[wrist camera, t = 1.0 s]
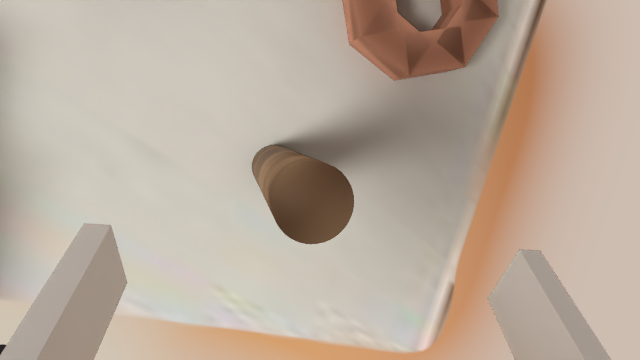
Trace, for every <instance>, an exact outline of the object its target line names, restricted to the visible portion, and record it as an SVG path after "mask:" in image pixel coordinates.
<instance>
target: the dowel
mask: <svg viewBox="0 0 640 360" xmlns="http://www.w3.org/2000/svg"><path fill="white" fill-rule="evenodd" d="M252 171H253V174H254V177H255V179H256V181H257V183H258V185H259V187H260V189H261V191H262V193H263V195H264V198H265V200H266V202H267V204H268V206H269V208H270V210H271V212H272V214H273V216H274V218H275V221H276V223H277V224H278V226H279V228H280V229H281V230H282V231H283V232H284V233H285V234H286V235H287V236H288V237H290V238H291V239H293V240H295V241H298V242H300V243H305V244H317V243H322V242H325V241H328V240H330V239H332V238H334V237H335V236H337V235H338V234H339V233H340V232H341V231H342V230H343V229H344V228H345V226H346V225H347V223H348V222H349V220H350V218H351V215H352V212H353V207H354V196H353V191H352V188H351V185H350V183H349V181H348V180H347V178H346V177H345V176H344V174H343V173H342V172H340V171H339V170H338V169H337V168H335V167H333V166H331V165H329V164H326V163H324V162H321V161H318V160H316V159H313V158H310V157H308V156H305V155H303V154H300V153H297V152H295V151H292V150H289V149H287V148H284V147H282V146H278V145H269V146H266V147H264V148H262V149H261V150H259V151H258V152H257V154H256V155H255V157H254V159H253V162H252Z"/></svg>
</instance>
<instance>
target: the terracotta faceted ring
mask: <svg viewBox="0 0 640 360" xmlns="http://www.w3.org/2000/svg"><path fill="white" fill-rule="evenodd" d="M343 6H344V13H345V19H346V26H347V32H348V39H349V44H350V45H351V46H352V47H353V48H355V49H356V50H357V51H358V52H360V53H361V54H362V55H363V56H365V57H366V58H367V59H368V60H369V61H371V62H372V63H373V64H374V65H376V66H377V67H378V68H379V69H381V70H382V71H383V72H384V73H386V74H387V75H388V76H389V77H390V78H392V79H393V80H399V79H405V78H411V77H417V76H423V75H429V74H435V73H441V72H447V71H451V70H455V69H458V68H462V67H465V66H466V65H467V63H468V62H469V60H470V59H471V57H472V56H473V54H474V53H475V51H476V50H477V48H478V47H479V45H480V44H481V42H482V41H483V39H484V38H485V36H486V35H487V33H488V32H489V30H490V29H491V27H492V26H493V24H494V23H495V21H496V20H497V18H498V17H499V16H498V6H497V0H441V9H442V16H441V17H440V19H439V20H438V22H437V23H436V25H435V26H434V28H433V29H432V30H430V31H423V32H419V31H418V30H417V29H416V28H415V27H413V26H412V25H411V24H410V23H409V22H408V21H407V20H405V19H404V18H403V17H402V16H401V15H400V14H399V13H397V5H396V0H343Z"/></svg>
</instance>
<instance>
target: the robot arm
mask: <svg viewBox="0 0 640 360" xmlns="http://www.w3.org/2000/svg"><path fill="white" fill-rule="evenodd" d="M126 284H127V280H126V276H125V273H124V269H123V266H122V262H121V259H120V255H119V252H118V248H117V244H116V241H115V237H114V234H113V230H112V227H111V225H102V224H86V223H84V224H83V226H82V227H81V229H80V231H79V232H78V234H77V235H76V237H75V238H74V240H73V242H72V243H71V245H70V246H69V248H68V249H67V251H66V253H65V254H64V256H63V257H62V259H61V260H60V262H59V264H58V265H57V267H56V268H55V270H54V271H53V273H52V275H51V276H50V278H49V279H48V281H47V282H46V284H45V286H44V287H43V289H42V290H41V292H40V293H39V295H38V297H37V298H36V300H35V301H34V303H33V304H32V306H31V308H30V309H29V311H28V312H27V314H26V316H25V317H24V319H23V320H22V322H21V323H20V325H19V326H18V328H17V330H16V331H15V333H14V334H13V336H12V338H11V339H10V341H9V342H8V344H7V345H0V360H94V358H95V355H96V353H97V351H98V349H99V346H100V344H101V341H102V339H103V337H104V335H105V332H106V330H107V328H108V325H109V323H110V321H111V319H112V316H113V314H114V312H115V310H116V307H117V305H118V303H119V300H120V298H121V296H122V293H123V291H124V289H125V286H126ZM488 301H489V303H490V305H491V307H492V310H493V311H494V314H495V316H496V318H497V321H498V323H499V325H500V327H501V329H502V332H503V334H504V336H505V339H506V341H507V343H508V345H509V347H510V350H511V352H512V354H513V356H514V359H515V360H611V359H610V357H609V355H608V354H607V352H606V351H605V349H604V348H603V346H602V345H601V343H600V342H599V340H598V338H597V337H596V336H595V334H594V332H593V331H592V329H591V328H590V326H589V325H588V324H587V322H586V320H585V319H584V317H583V316H582V314H581V312H580V311H579V309H578V308H577V306H576V305H575V303H574V302H573V300H572V299H571V297H570V295H569V294H568V292H567V291H566V289H565V288H564V287H563V285H562V283H561V282H560V280H559V279H558V277H557V275H556V274H555V272H554V271H553V269H552V268H551V266H550V265H549V263H548V262H547V260H546V259H545V257H544V255H543V254H542V253H541V251H538V250H521V249H519V251H518V252H517V254H516V255H515V257H514V259H513V260H512V261H511V263H510V265H509V266H508V268H507V269H506V271H505V272H504V274H503V275H502V277H501V279H500V280H499V282H498V283H497V285H496V286H495V288H494V289H493V291H492V292H491V294H490V296H489V297H488Z"/></svg>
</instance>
